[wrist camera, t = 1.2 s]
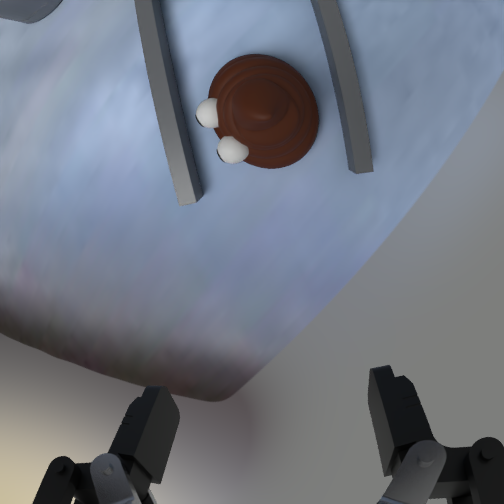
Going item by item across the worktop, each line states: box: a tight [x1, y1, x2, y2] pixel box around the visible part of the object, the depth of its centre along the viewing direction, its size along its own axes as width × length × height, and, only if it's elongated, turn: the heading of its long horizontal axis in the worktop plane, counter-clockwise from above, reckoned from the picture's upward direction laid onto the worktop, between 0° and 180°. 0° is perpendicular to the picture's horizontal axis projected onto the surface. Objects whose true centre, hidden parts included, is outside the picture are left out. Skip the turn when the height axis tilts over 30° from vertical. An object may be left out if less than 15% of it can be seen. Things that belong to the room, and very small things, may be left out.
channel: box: [134, 0, 374, 206], centre depth 20 cm, size 22×16×5 cm
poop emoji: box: [196, 54, 319, 169], centre depth 20 cm, size 10×8×9 cm
